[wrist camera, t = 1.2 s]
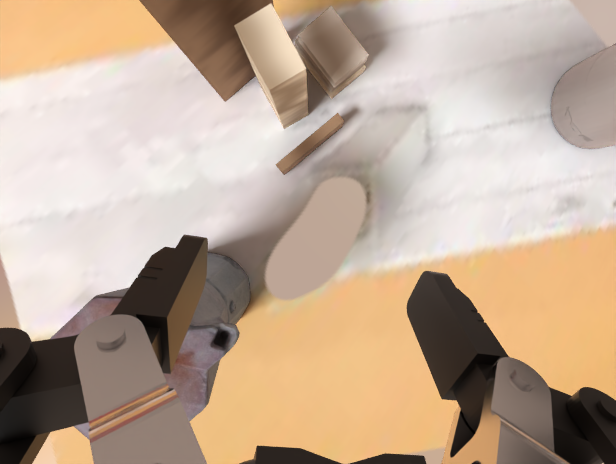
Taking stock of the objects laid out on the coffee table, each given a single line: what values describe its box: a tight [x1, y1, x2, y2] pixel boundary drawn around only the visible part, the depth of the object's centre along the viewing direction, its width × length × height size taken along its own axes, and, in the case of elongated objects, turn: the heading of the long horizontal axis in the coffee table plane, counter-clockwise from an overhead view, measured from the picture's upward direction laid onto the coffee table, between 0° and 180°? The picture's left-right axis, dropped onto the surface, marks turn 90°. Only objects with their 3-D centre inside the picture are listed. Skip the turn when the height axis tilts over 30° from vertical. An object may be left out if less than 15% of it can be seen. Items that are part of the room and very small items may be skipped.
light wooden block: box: [234, 3, 308, 129], centre depth 27 cm, size 3×5×11 cm, turn 29°
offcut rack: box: [140, 0, 344, 175], centre depth 24 cm, size 8×12×16 cm
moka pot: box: [51, 253, 250, 440], centre depth 24 cm, size 10×15×20 cm, turn 115°
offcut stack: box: [295, 6, 369, 99], centre depth 30 cm, size 4×6×4 cm
